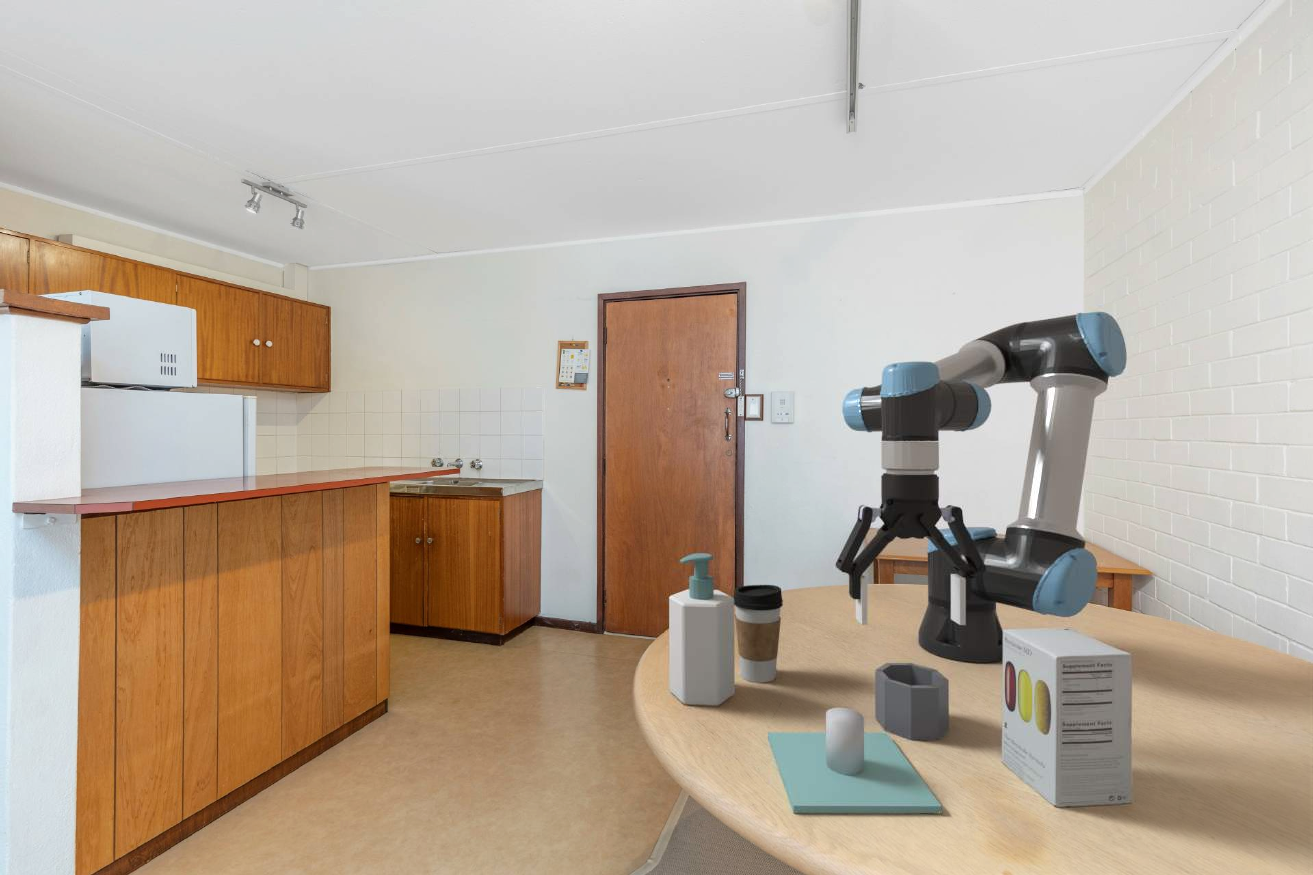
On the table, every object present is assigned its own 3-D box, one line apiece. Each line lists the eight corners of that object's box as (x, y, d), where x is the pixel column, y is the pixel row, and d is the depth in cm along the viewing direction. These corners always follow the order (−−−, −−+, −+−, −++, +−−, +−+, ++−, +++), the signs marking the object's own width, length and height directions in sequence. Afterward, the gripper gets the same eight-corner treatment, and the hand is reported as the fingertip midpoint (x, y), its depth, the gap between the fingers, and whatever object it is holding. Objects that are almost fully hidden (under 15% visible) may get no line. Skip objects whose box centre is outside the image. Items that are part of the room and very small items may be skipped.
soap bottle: (662, 685, 97) (661, 551, 97) (711, 676, 101) (711, 547, 101) (690, 712, 88) (690, 563, 88) (743, 701, 92) (743, 558, 92)
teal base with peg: (886, 738, 80) (886, 687, 80) (941, 813, 64) (941, 750, 64) (767, 738, 80) (767, 687, 80) (793, 812, 64) (793, 750, 64)
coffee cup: (783, 687, 96) (783, 595, 96) (731, 683, 98) (730, 593, 98) (783, 668, 105) (782, 583, 105) (734, 664, 106) (734, 580, 106)
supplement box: (999, 761, 74) (998, 627, 74) (1068, 758, 75) (1067, 625, 75) (1057, 809, 65) (1056, 655, 65) (1135, 805, 66) (1135, 652, 66)
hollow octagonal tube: (928, 709, 89) (928, 662, 89) (958, 740, 80) (957, 687, 80) (869, 709, 89) (869, 662, 89) (891, 739, 80) (891, 687, 80)
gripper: (984, 470, 88) (984, 614, 88) (814, 470, 88) (814, 613, 88) (1014, 473, 80) (1014, 630, 80) (828, 473, 81) (828, 630, 81)
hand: (909, 622), depth 84 cm, fingers open, 13 cm apart
